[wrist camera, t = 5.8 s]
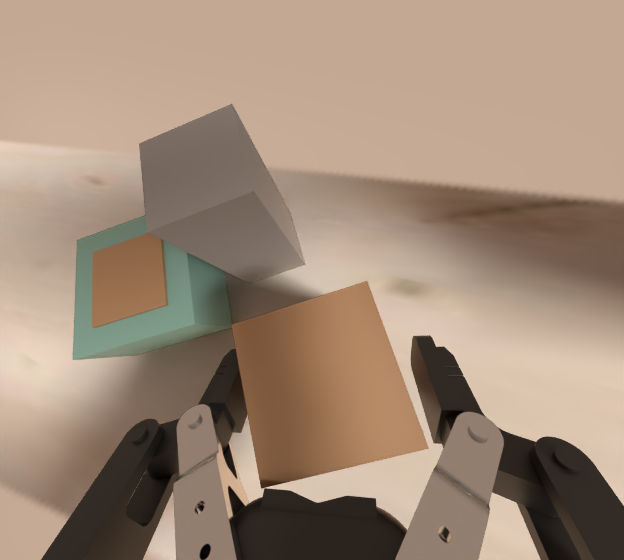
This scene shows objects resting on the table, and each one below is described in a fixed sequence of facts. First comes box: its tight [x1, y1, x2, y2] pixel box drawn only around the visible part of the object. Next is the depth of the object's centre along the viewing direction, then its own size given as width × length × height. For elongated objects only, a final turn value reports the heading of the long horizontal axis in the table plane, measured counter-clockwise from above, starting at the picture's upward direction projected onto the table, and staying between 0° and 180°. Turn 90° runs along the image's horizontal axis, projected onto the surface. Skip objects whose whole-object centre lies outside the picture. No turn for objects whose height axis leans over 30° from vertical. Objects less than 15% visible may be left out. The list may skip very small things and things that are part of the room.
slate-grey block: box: [139, 104, 305, 283], centre depth 15 cm, size 5×5×10 cm
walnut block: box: [232, 281, 428, 488], centre depth 12 cm, size 5×5×10 cm
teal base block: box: [73, 215, 232, 360], centre depth 19 cm, size 9×9×5 cm
